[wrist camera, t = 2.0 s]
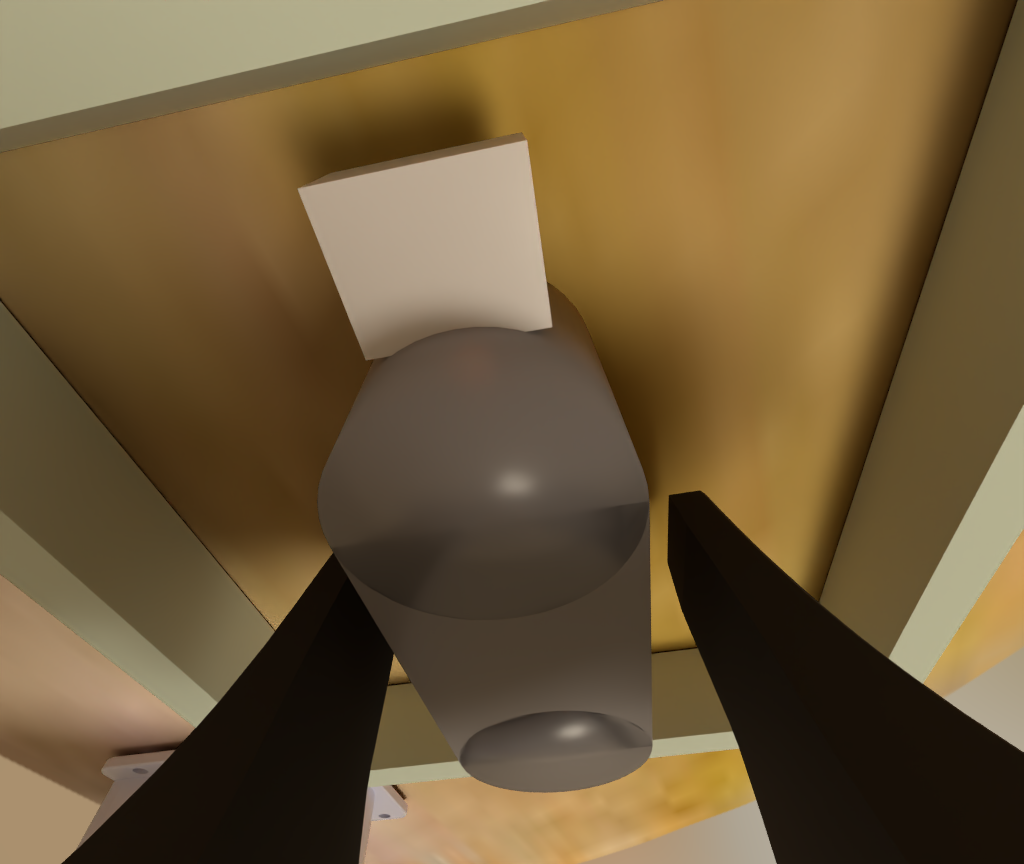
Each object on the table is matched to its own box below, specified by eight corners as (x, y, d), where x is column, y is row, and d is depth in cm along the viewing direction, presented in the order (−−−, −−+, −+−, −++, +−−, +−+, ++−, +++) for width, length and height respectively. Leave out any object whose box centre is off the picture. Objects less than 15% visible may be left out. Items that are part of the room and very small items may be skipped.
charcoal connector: (485, 640, 14) (482, 799, 11) (306, 171, 7) (143, 236, 4) (616, 623, 14) (653, 782, 11) (572, 113, 7) (644, 132, 4)
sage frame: (307, 714, 17) (282, 796, 15) (-266, 94, 6) (-608, 94, 4) (839, 650, 15) (890, 732, 13) (1227, -283, 5) (1715, -536, 3)
